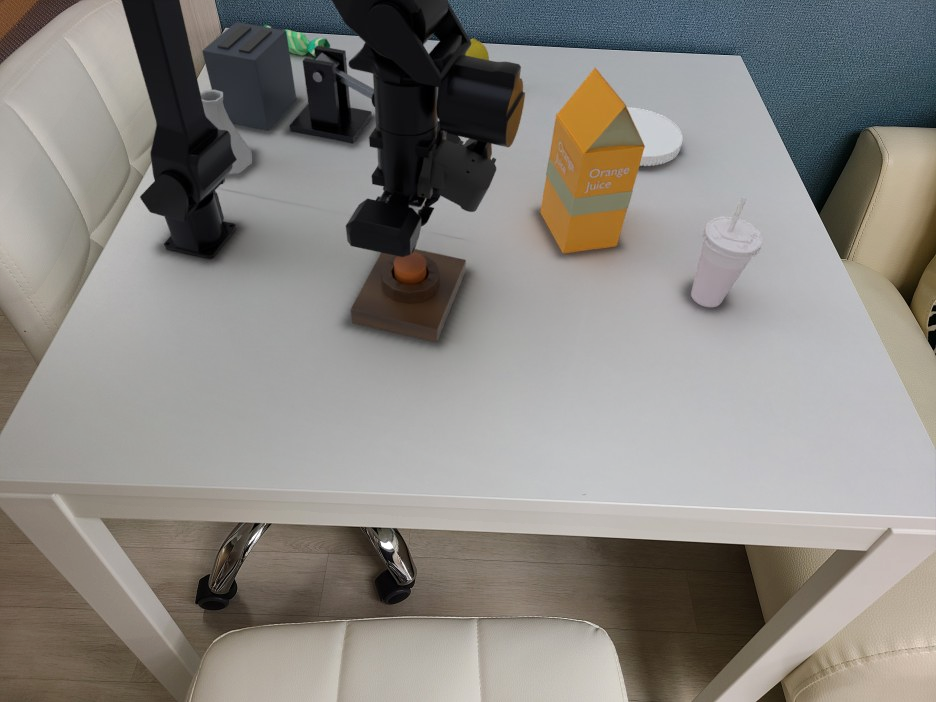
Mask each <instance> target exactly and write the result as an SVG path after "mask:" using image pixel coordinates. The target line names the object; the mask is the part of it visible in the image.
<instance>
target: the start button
mask: <svg viewBox="0 0 936 702" xmlns="http://www.w3.org/2000/svg"><path fill="white" fill-rule="evenodd" d="M394 275H395V278H396V279H397V280H398V281H399V282H400V283H402V284H407V285H412V284H418V283H420V282H422V281H423V280H424V279H425V277H426V260H425V258H424V257H423V256H422V255H420V254H418V253H414V252H413V253H411V254H410V255H408V256H405V257H399V256H397V257H396V258H395V260H394Z"/></svg>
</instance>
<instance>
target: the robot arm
mask: <svg viewBox="0 0 936 702" xmlns="http://www.w3.org/2000/svg"><path fill="white" fill-rule="evenodd" d="M330 1H331V2H332V4H333V5H334V7H335V9H336V11H337V13H338V14H339V16H340V18H341V19H342V21H343V23H344V24H345V25H346V26H347V28H349V30H351V31H352V32H353V33H354V34H355V35H357V36H358V38H360V39H361V40H362V41H363V42H364V43H363V46H362V48H360V50H359V51H358V52H356V53H355V54H354V55H353V57H352V58H351V59H350V60H349V61H348V67H349V69H351V70H356V71H359V72H364V73H368V74H372V78H373V79H372V80H373V81H372V82H373V89H374V99H375V107H374V113H375V114H374V115H375V127H374V129H373V130H372V132H371V133H370V135H369V136H368V144H369V147H370V148H374V149H376V151H377V153H376V154H377V166H376V167H375V169H374V170H373V172H372V174H371V184H372V185H374V186H379V187H382V190H383V192H382V194H381V195H379V196H378V195H377V197H376V198H375V199H372V198H366V199H364V200H363V201H362V202H360V203H359V204H358V205H357V207H356V208H355V210H354V211H353V213H352V215H351V216H350V218H349V220H348V221H347V222H346V224H345V232H346V241H347V243H348V244H349V246H350V247H352V248H353V247H354V248H358V249H362V250H366V251H367V250H368V251H372V252H376V253H380V254H381V253H385V254H390V255H395V256H399V257H405V256H408V255H410V254H411V253H413V251H414V249H416V247H417V243H418V240H419V238H420V234H421V229H422V227H424V226H425V225H427V223H428V222H429V220H430V218H431V216H432V214H433V212H434V210H435V207H433V206H432V205H434V204H435V203H437V202H438V201H439V200H440V198H441V197H442V198H444V199H446V200H448V201H450V202H451V203H454V204H456V205H457V206H459V207H460V209H462V211H465V212H468V213H474V212H476V211H477V210H478V208H479V206H480V205H481V203H482V201H483V200H484V197H485V196H486V194H487V192H488V190H489V189H490V186H491V184H492V182H493V180H494V177H495V174H496V172H497V166H496V162H497V158H495V157H492V155H493V145H494V146H495V145H496V146H499V147H504V148H510V147H511V146H512V145H513V143H514V141H515V139H516V136H517V134H518V130H519V128H520V124H521V120H522V115H523V112H524V111H523V110H524V106H525V99H526V92H525V91H524V81H523V78H521V71H522V66H521V65H520V63H516V62H511V61H494V60H490V59H489V60H485V59H480V58H475V57H471V56H466V52H467V51H468V49H469V48H470V47H471V41H470V40H471V39H470V37H469V36H468V33H467V32H466V31H465V29H464V27H463V25H462V23H461V22H460V20H459V18H458V17H457V15H456V13H455V12H454V10H453V8H452V6H451V4H450V2H449V0H330ZM121 5H122V7H123V11H124V15H125V18H126V22H127V25H128V29H129V33H130V35H131V39H132V42H133V46H134V49H135V53H136V56H137V60H138V64H139V67H140V70H141V71H140V72H141V75H142V77H143V81H144V84H145V87H146V92H147V95H148V98H149V102H150V105H151V108H152V112H153V116H154V119H155V125H156V126H155V129H154V134H153V139H152V143H151V147H150V152H149V153H150V154H149V155H150V163H151V171H152V176H153V180H154V181H153V182H152V183H151V184H150V185H149V186H148V187H147V189H146V190H144V191H143V193H141V195H140V196H139V198H140V200H141V202H142V203H143V204H144V206H145V207H146V209H147V211H148V212H149V213H150V214H154V215H158V216H161V217H164V219H165V222H166V224H167V227H168V230H169V233H170V236H169V237H168V238H167V239H166V241H164V243H163V246H164V249H165V250H170V251H174V252H178V253H183V254H187V255H192V256H196V257H201V258H205V259H213V258H214V257H215V256H216V255H217V253H218V252H219V251H220V250H221V249H222V247H223V246H224V245H225V244H226V242H227V241H228V240H229V239H230V237H231V236H232V235H233V233H234V232H235V231H236V229H237V226H236V224H235V223H233V222H228V221H225V217H224V213H223V210H222V206H221V202H220V198H219V194H218V193H217V192H216V190H217V189H218V188H219V187H220V186H221V185H223V184H224V183H225V182H226V178H227V176H228V175H230V174H229V173H230V171H231V170H232V167H233V166H232V164H233V163H234V162H235V161H236V160H237V159H236V157H235V155H234V153H233V150H232V147H231V135H230V133H229V131H227V130H219V129H218V128H217V127H216V126H215V125H214V124H213V123H212V122H211V121H210V120H209V119H208V118H207V117H206V115H205V112H204V108H203V103H202V99H201V94H200V93H201V90H200V85H199V81H198V76H197V73H196V68H195V64H194V58H193V55H192V50H191V45H190V41H189V35H188V32H187V27H186V23H185V18H184V14H183V10H182V5H181V1H180V0H121ZM432 36H434V37H435V38H436V39H437V40H439V41H438V42H437V43H436V45H434V47H433V48H432V49H431V51H430V52H428V50H427V49H426V47H425V44H426V43H427V42H429V40H430V39H431V37H432ZM462 138H465V139H467V140H466V141H463V140H462ZM464 142H465V143H464Z"/></svg>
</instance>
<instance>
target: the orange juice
mask: <svg viewBox="0 0 936 702" xmlns="http://www.w3.org/2000/svg"><path fill="white" fill-rule="evenodd" d="M627 107H628V106H627V104H626V103H625V102H624V101H623V100H622V98H621V97H620V96H619V95H618V93H617V92H616V90H614V89H613V87H612V86H611V85H610V83H608V81H607V80H606V79H605V77H604V76H603V75H602V74H601V72H600V71H599V70H598V69H597V67H594V68H593V70H591V72H590V73H589V74H588V76H587V77H586V78H585V79H584V80H583V81H582V83H581V84H580V85H579V86H578V88H576V90H575V92H574V93H573V94H572V95H571V96H570V97H569V99H567V102H566V103H565V104H564V105H563V106H562V107H561V109H560V110H559V111H558V113H557V112H556V114H555V120H554V125H553V131H552V138H551V144H550V149H549V157H548V159H547V167H546V172H545V180H544V181H545V182H544V189H543V194H542V199H541V204H540V205H541V206H540V211H539V213H540V215H541V217H542V218H543V221H544V222H545V224H546V226H547V227H548V229H549V231H550V233H551V235H552V237H553V238H554V240H555V242H556V244H557V246H558V247H559V249H560V251H561V253H562V254H569V253H570V254H571V253H576V252H584V251H591V250H600V249H608V248H615V247H617V246H618V243H619V241H620V236H621V232H622V229H623V226H624V221H625V218H626V214H627V211H628V209H629V206H630V203H631V200H632V196H633V190H634V187H635V183H636V180H637V175H638V172H639V170H640V162H641V158H642V155H643V151H644V148H645V145H644V143H643V141H642V139H641V137H640V135H639V133H638V130H637V128H636V126H635V124H634V122H633V120H632V117H631V115H630V113H629V111H628V109H627Z"/></svg>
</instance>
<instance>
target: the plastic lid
mask: <svg viewBox="0 0 936 702" xmlns="http://www.w3.org/2000/svg"><path fill="white" fill-rule="evenodd" d="M626 107H627V109H628V111H629V113H630V115H631V117H632V120H633V122H634V124H635V126H636V128H637V130H638V133H639V135H640V137H641V139H642V141H643V143H644V145H645V148H644V151H643V155H642V158H641V162H640V165H639V167H642V166H643V167H647V166H648V167H651V166H658V165H662V164H663V165H664V164H665V163H668V162H671V161H672V160H674V159H675V158H676V157H677V156H678V155H679V153H680V151H681V148H682V144H683V142H684V138H683V137H684V135H683V133H682V130H681V129H680V127H679V126H678V125H677V124H676V123H675V122H674V121H673V120H671V119H670V118H668V116H667V117H666V116H665V115H662V114H661V113H658V112H655V111H652V110H650V109H648V110H647V109H645V108H644V109H643V108H639V107H633V106H632V107H631V106H626Z"/></svg>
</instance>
